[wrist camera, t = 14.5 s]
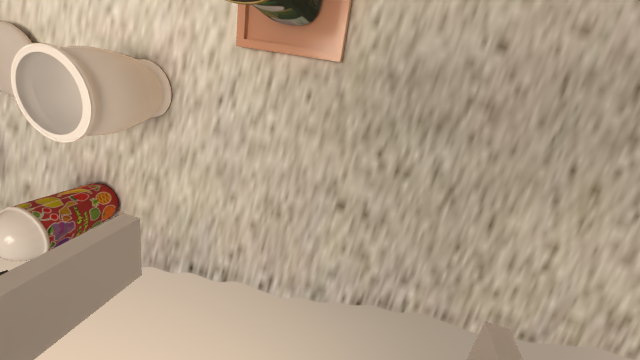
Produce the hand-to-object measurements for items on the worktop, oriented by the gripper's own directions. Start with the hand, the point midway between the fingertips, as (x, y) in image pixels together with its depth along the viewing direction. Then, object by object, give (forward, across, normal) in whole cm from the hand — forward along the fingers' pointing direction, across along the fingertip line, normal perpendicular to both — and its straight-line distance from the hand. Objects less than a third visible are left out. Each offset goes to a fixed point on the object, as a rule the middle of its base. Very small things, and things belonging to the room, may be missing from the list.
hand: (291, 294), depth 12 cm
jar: (+34, +34, 0) cm, 48 cm away
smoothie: (+34, +44, +22) cm, 59 cm away
